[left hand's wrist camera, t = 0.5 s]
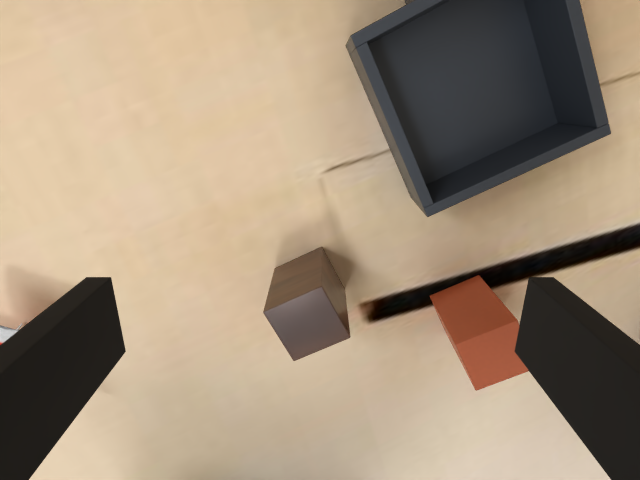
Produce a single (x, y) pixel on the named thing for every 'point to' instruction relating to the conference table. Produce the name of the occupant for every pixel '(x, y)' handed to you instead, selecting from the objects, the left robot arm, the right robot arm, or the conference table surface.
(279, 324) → the walnut block
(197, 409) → the conference table surface
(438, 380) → the conference table surface
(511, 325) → the terracotta block
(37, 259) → the conference table surface
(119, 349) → the left robot arm
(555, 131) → the box
